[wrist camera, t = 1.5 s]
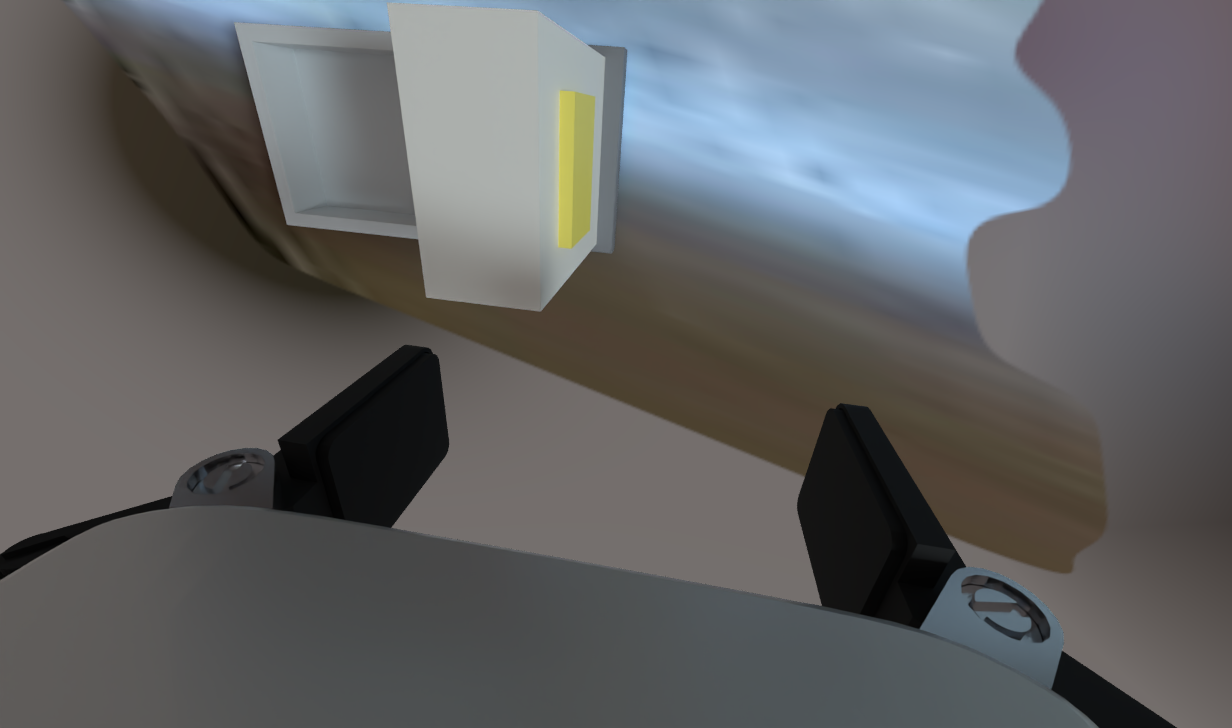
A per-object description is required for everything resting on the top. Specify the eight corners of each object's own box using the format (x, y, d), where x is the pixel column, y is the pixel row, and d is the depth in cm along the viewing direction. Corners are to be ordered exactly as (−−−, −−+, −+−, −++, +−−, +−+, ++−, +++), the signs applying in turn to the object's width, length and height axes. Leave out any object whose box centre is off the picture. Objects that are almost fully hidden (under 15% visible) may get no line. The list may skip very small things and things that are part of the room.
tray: (285, 33, 28) (233, 22, 25) (452, 43, 27) (420, 33, 24) (325, 215, 33) (286, 224, 30) (467, 230, 32) (443, 241, 29)
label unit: (505, 42, 26) (354, -19, 15) (627, 50, 26) (569, -9, 14) (512, 238, 32) (405, 305, 20) (614, 248, 31) (564, 325, 19)
